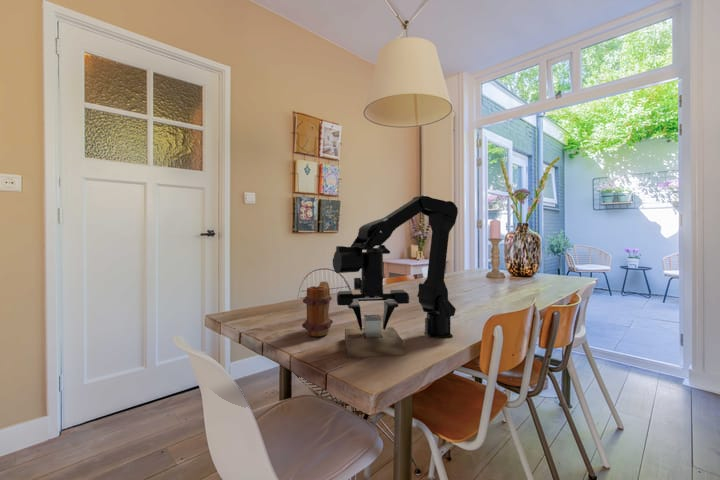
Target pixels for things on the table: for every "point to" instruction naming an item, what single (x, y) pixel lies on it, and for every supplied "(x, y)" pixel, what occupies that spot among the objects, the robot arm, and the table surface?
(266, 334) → the table surface
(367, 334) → the column
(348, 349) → the stand block
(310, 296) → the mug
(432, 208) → the robot arm
